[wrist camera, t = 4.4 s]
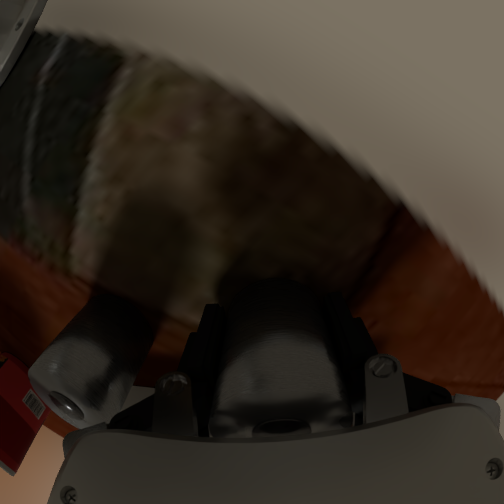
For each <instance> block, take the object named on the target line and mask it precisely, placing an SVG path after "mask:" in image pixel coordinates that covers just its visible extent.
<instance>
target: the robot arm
mask: <svg viewBox="0 0 504 504" xmlns="http://www.w3.org/2000/svg"><path fill="white" fill-rule="evenodd" d="M46 2H47V0H0V86H1V85H2V83H3V82H4V81H5V79H6V77H7V76H8V74H9V72H10V71H11V69H12V68H13V66H14V64H15V63H16V61H17V59H18V57H19V55H20V54H21V52H22V50H23V49H24V47H25V45H26V43H27V41H28V39H29V37H30V35H31V34H32V32H33V30H34V28H35V26H36V24H37V22H38V20H39V18H40V16H41V14H42V12H43V9H44V7H45V5H46ZM323 314H324V317H325V320H326V323H327V326H328V329H329V332H330V335H331V339H332V342H333V345H334V348H335V352H336V355H337V358H338V362H339V365H340V368H341V372H342V375H343V379H344V382H345V386H346V389H347V393H348V397H349V400H350V404H351V408H352V412H353V426H352V427H348V428H342V429H337V430H331V431H324V432H317V433H309V434H301V435H291V436H278V437H259V438H214V437H212V435H211V433H210V431H209V419H210V413H211V407H212V401H213V396H214V390H215V384H216V379H217V373H218V367H219V362H220V356H221V351H222V345H223V340H224V334H225V329H226V324H227V321H226V316H225V311H224V307H223V306H219V304H218V303H217V304H206V306H205V309H204V312H203V315H202V318H201V321H200V324H199V327H198V330H197V332H191V333H190V335H189V337H188V340H187V343H186V346H185V349H184V352H183V355H182V358H181V361H180V364H179V367H178V370H177V371H173V372H169V373H166V374H164V375H163V376H161V377H160V378H159V379H158V381H157V382H156V385H155V393H154V394H152V395H151V396H149V397H147V398H145V399H143V400H141V401H140V402H138V403H136V404H134V405H132V406H130V407H128V408H126V409H124V410H123V411H121V412H119V413H117V414H116V415H114V416H113V418H112V419H111V421H110V423H108V424H107V423H106V422H102V423H99V424H96V425H93V426H89V427H86V428H83V429H79V430H76V431H73V432H70V433H68V434H67V435H66V436H65V437H64V440H63V451H64V457H65V460H64V461H63V464H62V466H61V468H60V470H59V473H58V475H57V477H56V480H55V483H54V485H53V488H52V491H51V494H50V497H49V500H48V503H47V504H504V440H503V438H502V436H501V435H500V433H499V425H500V424H499V423H500V407H499V405H498V403H497V402H496V401H495V400H492V399H488V398H481V397H474V396H467V395H461V394H455V396H451V394H450V392H449V391H448V390H447V389H445V388H443V387H441V386H438V385H435V384H433V383H430V382H427V381H424V380H422V379H419V378H416V377H413V376H411V375H408V374H405V373H403V372H402V368H401V364H400V362H399V361H398V360H397V359H396V358H395V357H393V356H391V355H388V354H378V352H377V350H376V348H375V346H374V344H373V341H372V339H371V337H370V335H369V333H368V331H367V329H366V327H365V325H364V323H363V321H362V319H361V318H360V317H357V318H353V317H352V315H351V313H350V311H349V309H348V307H347V304H346V302H345V300H344V298H343V296H342V294H341V292H333V293H328V296H326V297H324V305H323Z"/></svg>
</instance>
